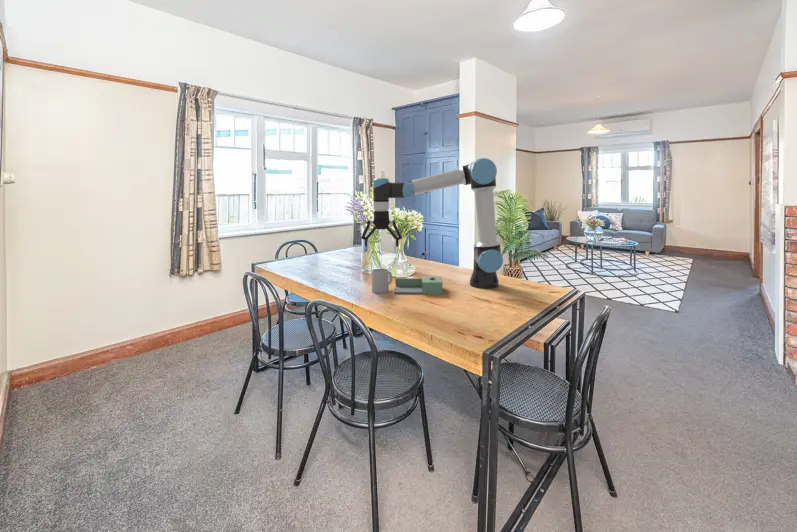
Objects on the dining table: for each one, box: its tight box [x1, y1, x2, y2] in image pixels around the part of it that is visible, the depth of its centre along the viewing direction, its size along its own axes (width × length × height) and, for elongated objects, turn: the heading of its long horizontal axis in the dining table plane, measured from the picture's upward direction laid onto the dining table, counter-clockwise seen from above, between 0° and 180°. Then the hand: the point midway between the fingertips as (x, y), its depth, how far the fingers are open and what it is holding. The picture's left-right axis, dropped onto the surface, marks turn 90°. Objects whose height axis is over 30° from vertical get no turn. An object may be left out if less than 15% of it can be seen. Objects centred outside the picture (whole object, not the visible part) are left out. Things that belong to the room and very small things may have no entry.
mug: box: [371, 268, 393, 294], centre depth 199 cm, size 12×8×11 cm
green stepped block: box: [393, 275, 444, 295], centre depth 198 cm, size 24×13×7 cm, turn 86°
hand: (381, 253), depth 196 cm, fingers open, 13 cm apart
